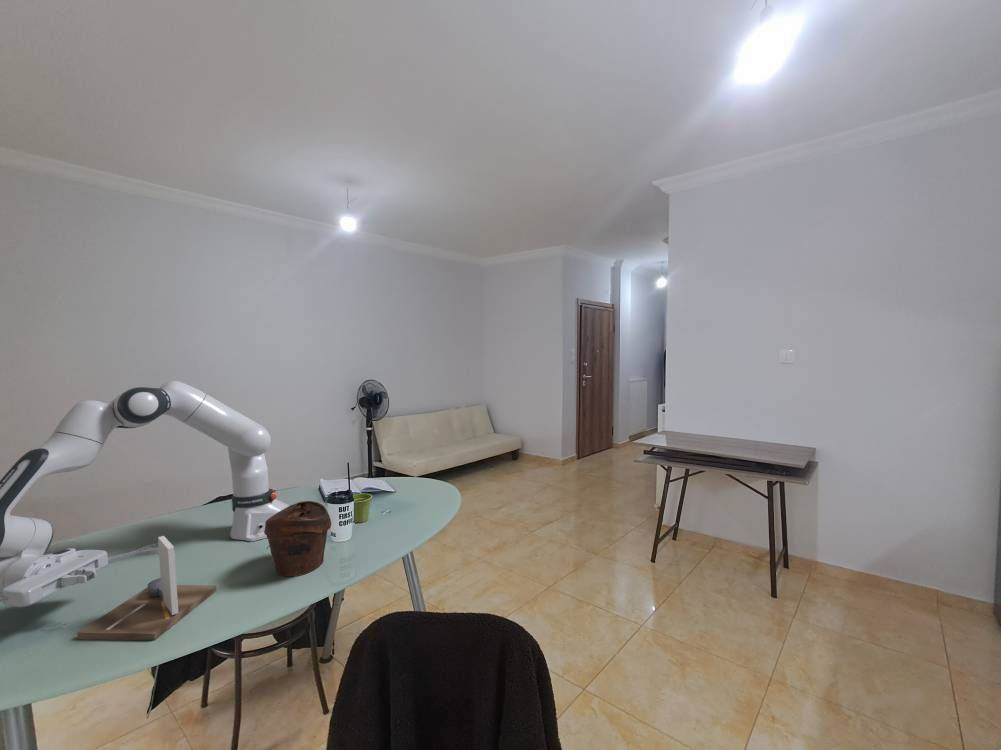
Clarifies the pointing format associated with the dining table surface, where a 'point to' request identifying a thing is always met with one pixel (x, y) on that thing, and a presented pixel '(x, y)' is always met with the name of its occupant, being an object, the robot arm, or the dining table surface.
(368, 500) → the plant pot
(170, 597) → the white upright panel
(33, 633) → the dining table surface
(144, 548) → the adjustable wrench
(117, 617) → the dial board
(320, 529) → the case
